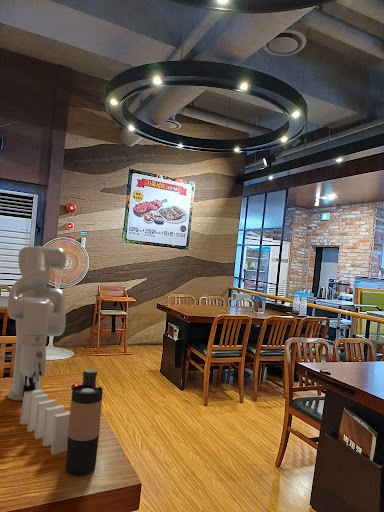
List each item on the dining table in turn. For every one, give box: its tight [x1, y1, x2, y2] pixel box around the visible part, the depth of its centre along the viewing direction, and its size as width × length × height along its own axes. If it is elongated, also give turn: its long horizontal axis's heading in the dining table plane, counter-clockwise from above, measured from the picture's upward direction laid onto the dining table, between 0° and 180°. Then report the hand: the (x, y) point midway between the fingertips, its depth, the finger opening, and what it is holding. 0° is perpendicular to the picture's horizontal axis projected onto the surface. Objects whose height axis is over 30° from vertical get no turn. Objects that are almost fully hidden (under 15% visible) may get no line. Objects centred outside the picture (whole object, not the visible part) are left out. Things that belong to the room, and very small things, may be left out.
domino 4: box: [41, 404, 66, 447], centre depth 108 cm, size 2×5×10 cm, turn 134°
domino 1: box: [19, 388, 42, 426], centre depth 119 cm, size 2×5×10 cm, turn 135°
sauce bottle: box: [81, 368, 98, 388], centre depth 112 cm, size 6×6×20 cm
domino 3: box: [33, 399, 57, 440], centre depth 112 cm, size 2×5×10 cm, turn 135°
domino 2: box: [26, 393, 49, 433], centre depth 116 cm, size 2×5×10 cm, turn 134°
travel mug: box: [65, 384, 103, 477], centre depth 96 cm, size 8×8×20 cm
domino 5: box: [50, 411, 70, 456], centre depth 104 cm, size 2×5×10 cm, turn 134°
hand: (28, 397), depth 121 cm, fingers closed
